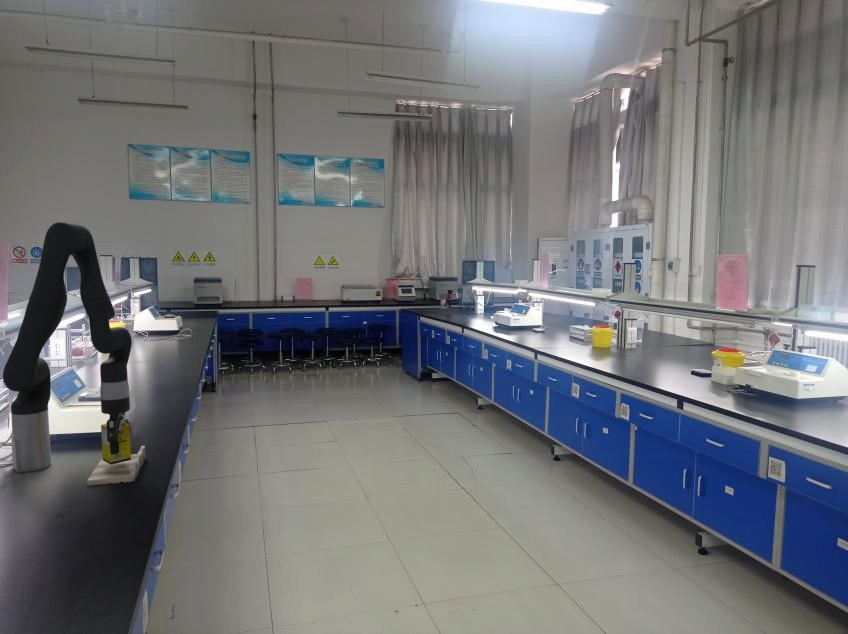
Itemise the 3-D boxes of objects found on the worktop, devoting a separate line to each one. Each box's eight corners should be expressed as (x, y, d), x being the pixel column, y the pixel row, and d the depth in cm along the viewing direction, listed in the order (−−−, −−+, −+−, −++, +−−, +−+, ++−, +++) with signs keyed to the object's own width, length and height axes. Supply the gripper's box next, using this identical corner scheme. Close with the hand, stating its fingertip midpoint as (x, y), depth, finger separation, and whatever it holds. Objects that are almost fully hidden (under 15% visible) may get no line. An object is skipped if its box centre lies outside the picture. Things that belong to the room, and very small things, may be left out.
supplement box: (131, 460, 177) (130, 424, 176) (110, 465, 172) (108, 428, 171) (123, 455, 181) (121, 420, 180) (102, 460, 176) (100, 424, 175)
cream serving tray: (135, 481, 169) (134, 467, 169) (87, 485, 166) (86, 471, 165) (146, 457, 188) (145, 445, 188) (103, 461, 185) (102, 448, 184)
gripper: (124, 400, 169) (127, 456, 171) (133, 389, 182) (135, 441, 184) (95, 402, 167) (98, 458, 168) (106, 390, 180) (108, 443, 182)
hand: (117, 449), depth 176 cm, fingers closed on supplement box, 8 cm apart
